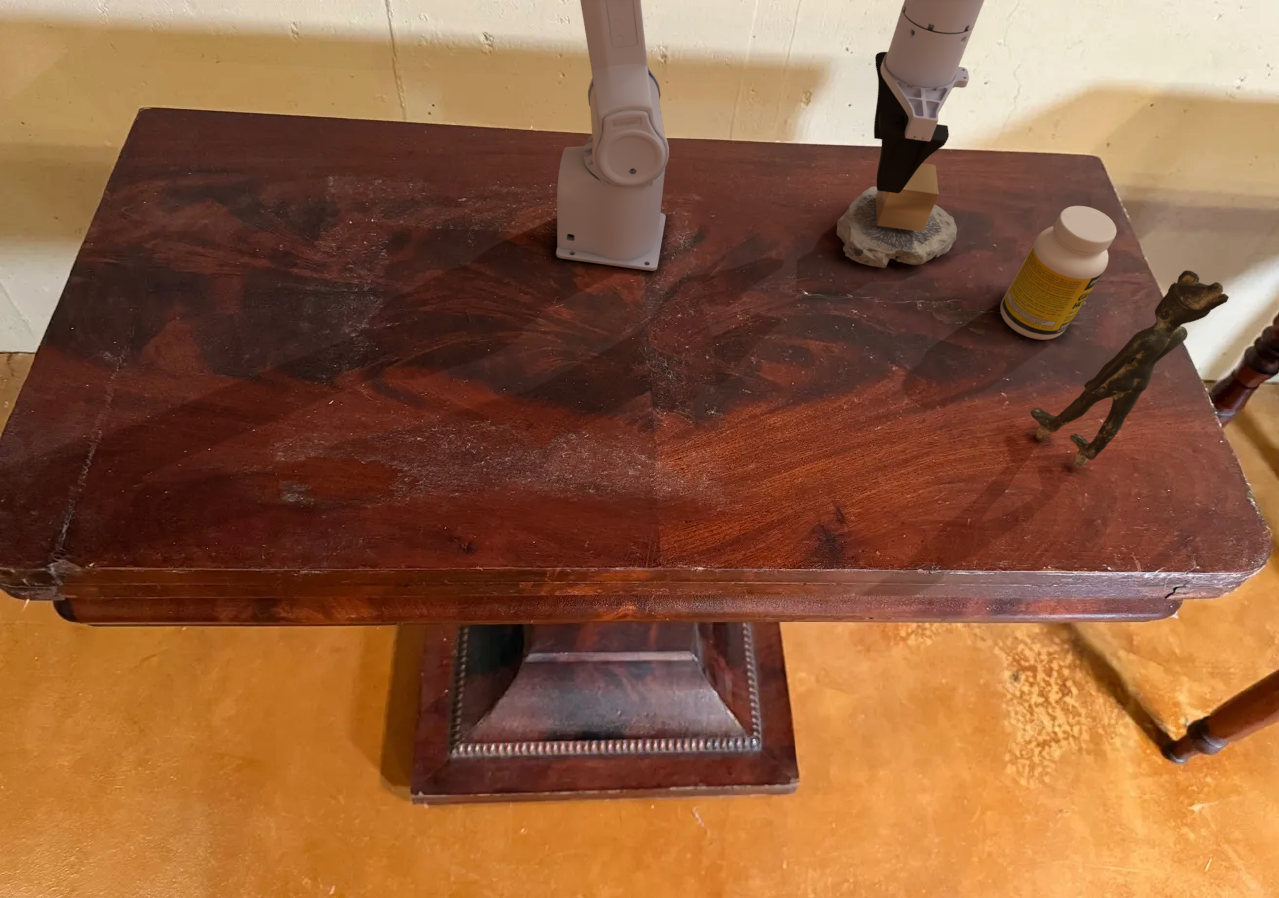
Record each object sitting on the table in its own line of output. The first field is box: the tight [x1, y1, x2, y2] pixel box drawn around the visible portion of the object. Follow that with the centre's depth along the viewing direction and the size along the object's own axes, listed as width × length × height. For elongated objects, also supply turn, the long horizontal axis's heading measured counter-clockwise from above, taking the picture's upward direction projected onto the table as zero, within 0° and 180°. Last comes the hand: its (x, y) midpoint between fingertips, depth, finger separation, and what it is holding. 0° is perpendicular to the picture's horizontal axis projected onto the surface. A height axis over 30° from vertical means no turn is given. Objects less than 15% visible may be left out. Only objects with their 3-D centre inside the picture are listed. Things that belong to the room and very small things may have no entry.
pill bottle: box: [999, 205, 1117, 341], centre depth 78 cm, size 6×6×11 cm
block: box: [876, 162, 940, 232], centre depth 83 cm, size 4×4×4 cm
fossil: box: [836, 185, 958, 269], centre depth 86 cm, size 11×4×10 cm
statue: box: [1030, 269, 1230, 468], centre depth 65 cm, size 5×6×20 cm
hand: (886, 163), depth 80 cm, fingers open, 7 cm apart
